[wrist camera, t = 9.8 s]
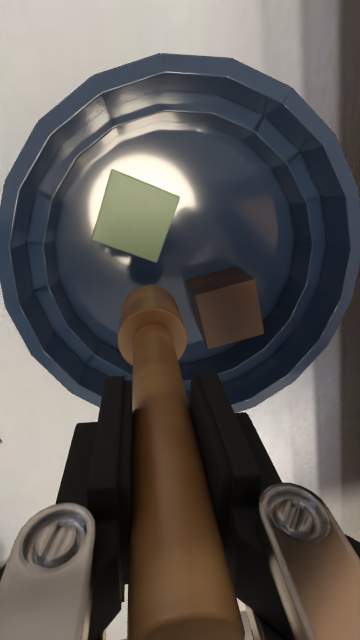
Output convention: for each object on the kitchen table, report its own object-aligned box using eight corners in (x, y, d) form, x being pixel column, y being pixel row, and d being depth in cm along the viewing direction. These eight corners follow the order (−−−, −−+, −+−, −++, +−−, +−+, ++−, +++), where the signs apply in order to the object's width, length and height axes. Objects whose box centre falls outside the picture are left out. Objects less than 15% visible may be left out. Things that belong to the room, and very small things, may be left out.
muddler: (178, 284, 18) (306, 570, 4) (177, 336, 19) (276, 691, 6) (120, 285, 18) (63, 601, 4) (122, 338, 19) (86, 725, 5)
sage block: (173, 196, 22) (180, 196, 18) (154, 252, 23) (156, 263, 20) (116, 172, 21) (111, 168, 17) (98, 232, 22) (90, 240, 19)
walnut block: (237, 265, 24) (255, 278, 21) (246, 313, 26) (264, 334, 22) (186, 279, 24) (194, 295, 21) (197, 327, 26) (207, 350, 22)
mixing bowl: (334, 100, 22) (402, 68, 16) (291, 372, 29) (327, 414, 24) (7, 82, 19) (-46, 38, 14) (51, 383, 27) (27, 433, 21)
